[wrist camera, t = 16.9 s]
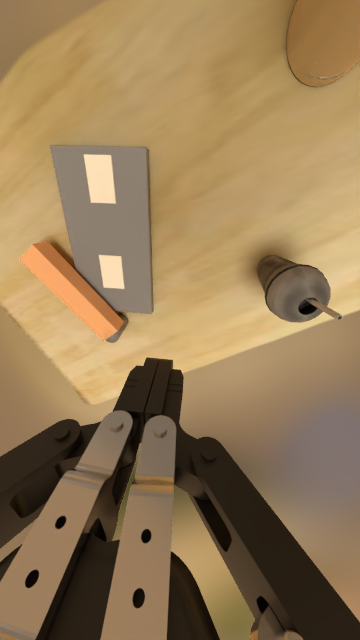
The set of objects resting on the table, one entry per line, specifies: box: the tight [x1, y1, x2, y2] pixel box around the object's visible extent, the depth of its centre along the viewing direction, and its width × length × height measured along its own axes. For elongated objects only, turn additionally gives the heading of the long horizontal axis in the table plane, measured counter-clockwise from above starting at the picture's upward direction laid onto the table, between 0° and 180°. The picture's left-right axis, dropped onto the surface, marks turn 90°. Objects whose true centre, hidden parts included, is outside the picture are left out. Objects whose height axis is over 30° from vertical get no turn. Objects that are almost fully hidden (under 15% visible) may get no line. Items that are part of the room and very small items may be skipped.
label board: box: [50, 145, 153, 329], centre depth 37 cm, size 30×14×2 cm, turn 178°
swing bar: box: [20, 241, 124, 343], centre depth 38 cm, size 20×4×4 cm, turn 37°
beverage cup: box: [257, 256, 343, 322], centre depth 28 cm, size 7×7×20 cm
